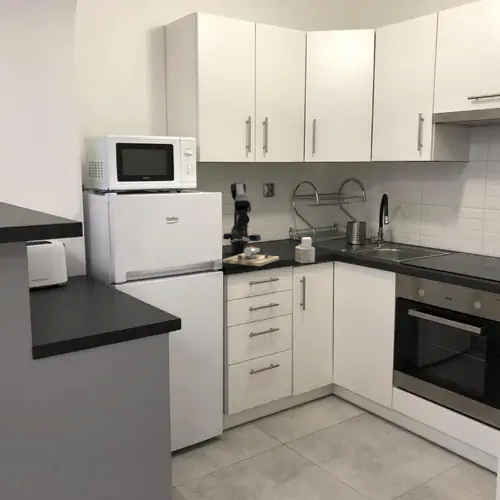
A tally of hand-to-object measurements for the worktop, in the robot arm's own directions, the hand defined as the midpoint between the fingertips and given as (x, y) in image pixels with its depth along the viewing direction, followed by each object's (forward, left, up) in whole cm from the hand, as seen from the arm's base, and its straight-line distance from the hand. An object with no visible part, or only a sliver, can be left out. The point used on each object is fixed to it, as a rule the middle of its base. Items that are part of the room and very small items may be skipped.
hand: (241, 253), depth 283 cm
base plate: (0, +9, -5) cm, 11 cm away
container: (+26, +20, -5) cm, 34 cm away
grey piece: (+1, +6, -1) cm, 6 cm away
